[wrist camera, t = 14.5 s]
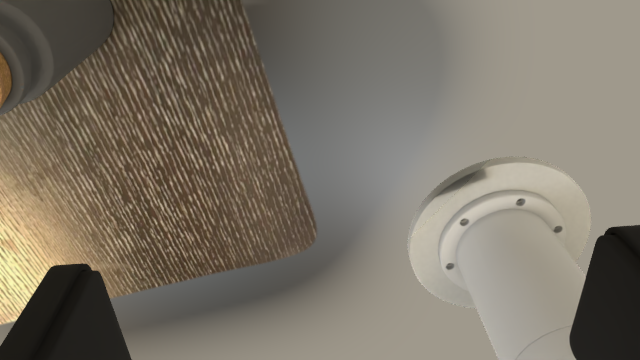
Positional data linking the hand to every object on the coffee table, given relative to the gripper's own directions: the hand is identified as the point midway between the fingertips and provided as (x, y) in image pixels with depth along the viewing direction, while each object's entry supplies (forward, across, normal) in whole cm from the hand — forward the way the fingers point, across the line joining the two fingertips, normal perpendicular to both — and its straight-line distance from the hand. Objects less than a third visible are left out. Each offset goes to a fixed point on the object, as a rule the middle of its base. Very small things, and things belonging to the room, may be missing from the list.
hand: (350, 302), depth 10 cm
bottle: (+31, +17, 0) cm, 35 cm away
